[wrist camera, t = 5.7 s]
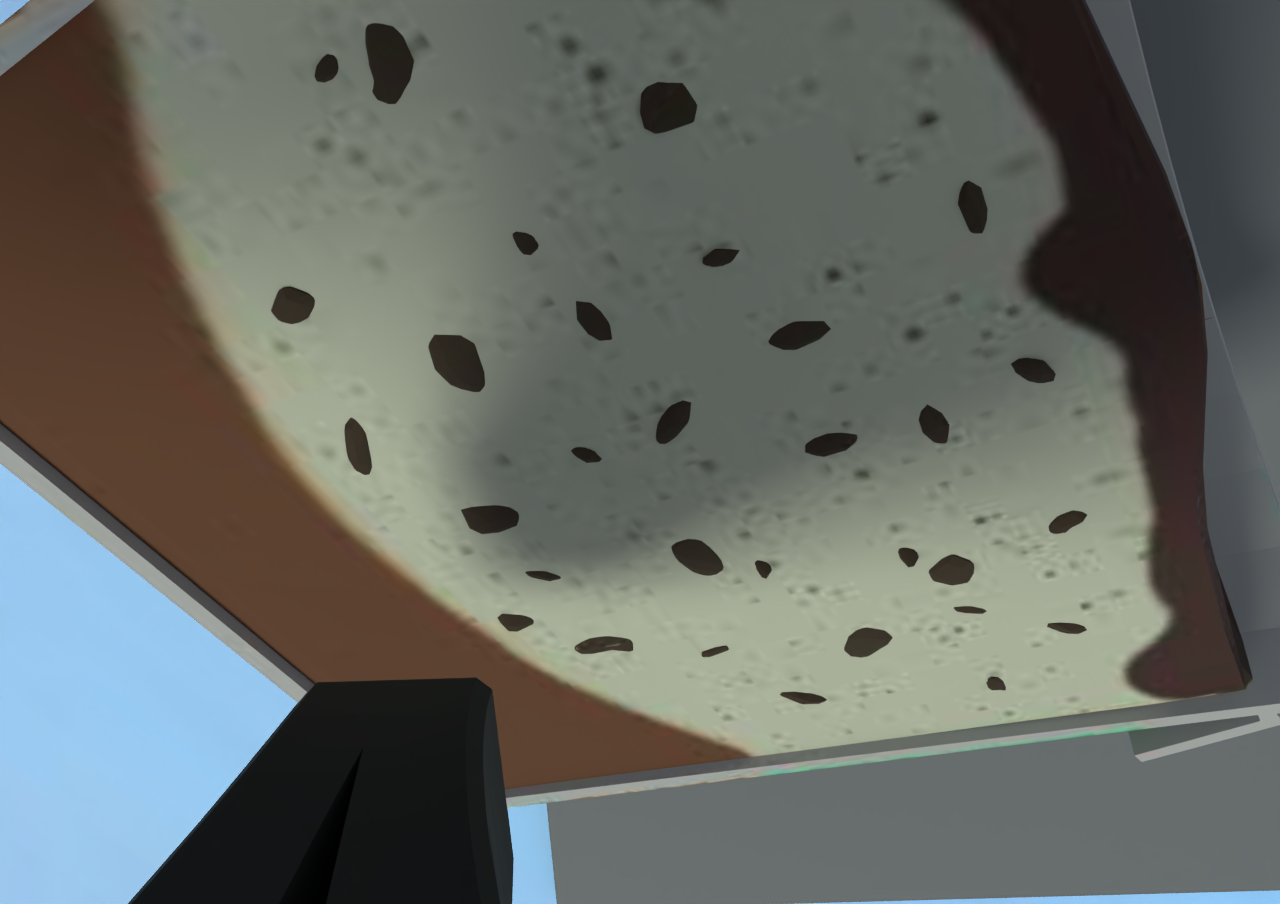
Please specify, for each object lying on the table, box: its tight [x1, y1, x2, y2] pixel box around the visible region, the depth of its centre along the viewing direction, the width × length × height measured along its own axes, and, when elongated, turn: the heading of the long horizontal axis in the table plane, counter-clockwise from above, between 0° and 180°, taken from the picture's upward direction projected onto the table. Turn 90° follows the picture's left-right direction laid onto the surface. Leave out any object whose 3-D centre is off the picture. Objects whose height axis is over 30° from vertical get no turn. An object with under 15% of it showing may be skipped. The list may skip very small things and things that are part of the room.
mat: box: [547, 0, 1280, 904], centre depth 15 cm, size 14×20×1 cm
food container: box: [0, 0, 1280, 808], centre depth 12 cm, size 12×6×10 cm
